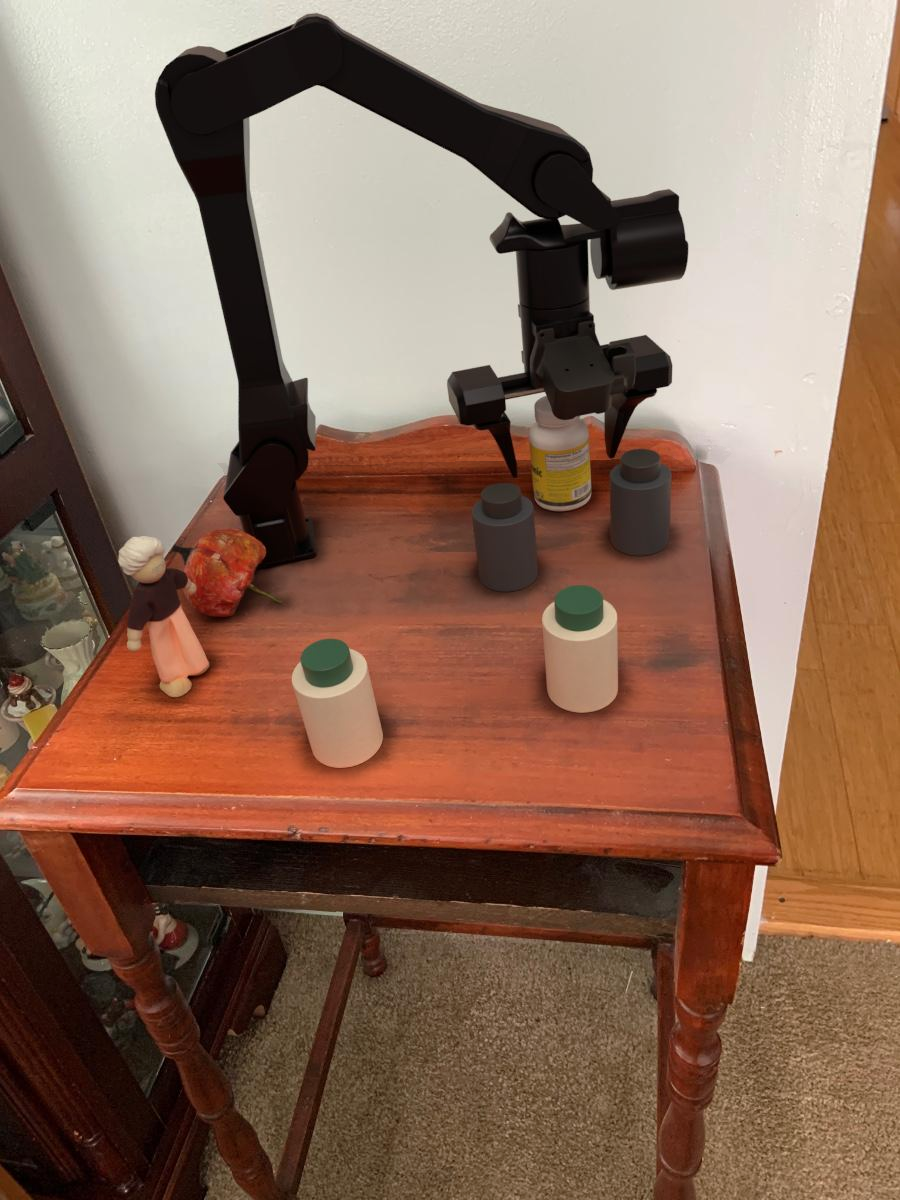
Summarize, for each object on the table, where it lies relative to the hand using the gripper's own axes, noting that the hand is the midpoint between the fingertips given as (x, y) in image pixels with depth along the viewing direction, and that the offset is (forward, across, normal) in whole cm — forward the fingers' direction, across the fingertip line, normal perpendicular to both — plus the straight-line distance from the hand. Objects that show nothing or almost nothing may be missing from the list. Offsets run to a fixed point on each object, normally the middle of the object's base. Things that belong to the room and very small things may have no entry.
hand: (562, 466), depth 84 cm
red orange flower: (+4, -31, -6) cm, 32 cm away
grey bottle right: (+4, +4, -9) cm, 10 cm away
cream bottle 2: (+4, -6, -26) cm, 27 cm away
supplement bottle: (+4, 0, 0) cm, 4 cm away
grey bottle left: (+4, -8, -10) cm, 13 cm away
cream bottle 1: (+4, -23, -26) cm, 35 cm away
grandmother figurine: (+4, -35, -14) cm, 38 cm away
